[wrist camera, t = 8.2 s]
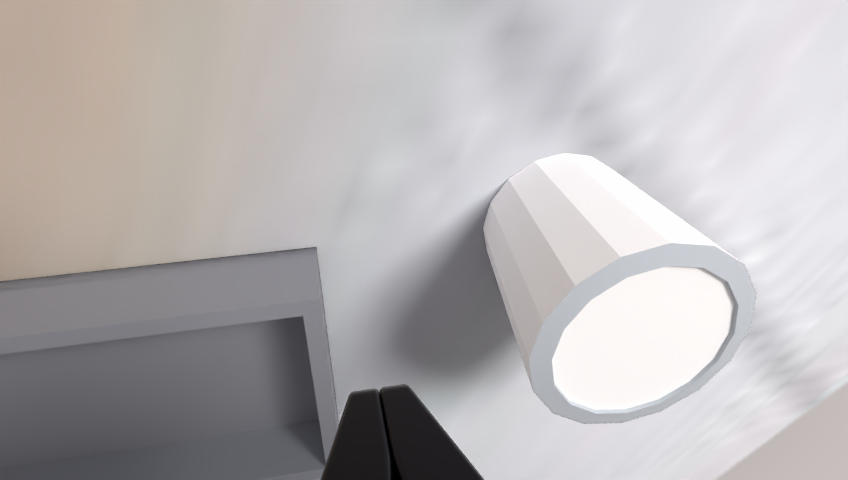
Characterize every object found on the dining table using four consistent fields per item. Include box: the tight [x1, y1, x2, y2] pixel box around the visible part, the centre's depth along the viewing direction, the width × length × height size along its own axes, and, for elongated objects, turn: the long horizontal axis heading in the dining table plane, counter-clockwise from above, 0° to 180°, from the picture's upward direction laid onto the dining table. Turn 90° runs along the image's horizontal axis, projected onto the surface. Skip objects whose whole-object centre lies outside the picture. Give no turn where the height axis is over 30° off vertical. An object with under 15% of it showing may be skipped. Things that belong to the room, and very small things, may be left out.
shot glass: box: [483, 153, 756, 424], centre depth 20 cm, size 7×7×7 cm
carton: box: [0, 247, 339, 480], centre depth 21 cm, size 9×20×3 cm, turn 90°
